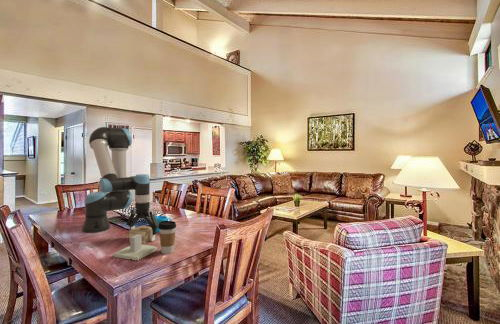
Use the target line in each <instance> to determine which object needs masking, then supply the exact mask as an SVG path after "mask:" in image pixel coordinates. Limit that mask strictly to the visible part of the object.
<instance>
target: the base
mask: <svg viewBox="0 0 500 324" xmlns="http://www.w3.org/2000/svg"><path fill="white" fill-rule="evenodd" d="M156 251H158V246H154V245H147V244H143V243H142V235H140V234H137V235H134V236H132V237H130V241H129V246H126V247H124V248H122V249H120V250H118V251H116V252H113V257H114V258H118V259H125V260H130V259H132V261H136V260H138V261H140V260H141V258H142V259H143V257H144V258H145V257H146V256H149V255H150V254H152V253H154V252H156ZM139 259H140V260H139Z"/></svg>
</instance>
